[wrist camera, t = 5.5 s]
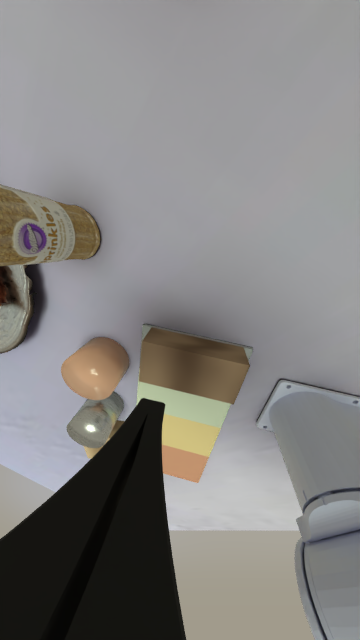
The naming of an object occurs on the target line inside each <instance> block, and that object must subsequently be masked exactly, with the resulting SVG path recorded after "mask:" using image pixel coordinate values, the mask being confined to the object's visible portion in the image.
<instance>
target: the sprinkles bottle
mask: <svg viewBox="0 0 360 640" xmlns="http://www.w3.org/2000/svg"><path fill="white" fill-rule="evenodd" d="M99 245H100V233H99V229H98V227H97V225H96V222H95V220H94V219H93V218H92V217H91V215H90V214H89V213H87V212H86V211H85V210H84V209H82V208H80V207H78V206H75V205H66V204H62V203H59V202H56V201H53V200H51V199H48V198H45V197H42V196H38V195H35V194H32V193H28V192H25V191H21V190H18V189H15V188H11V187H8V186H4V185H1V184H0V266H6V265H17V264H18V265H29V264H38V263H49V262H58V261H62V260H68V259H87V258H90V257H91V256H93V255H94V254H95V253H96V251H97V249H98V247H99Z"/></svg>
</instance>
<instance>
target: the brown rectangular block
mask: <svg viewBox="0 0 360 640" xmlns="http://www.w3.org/2000/svg"><path fill="white" fill-rule="evenodd" d="M249 367H250V364H249V361H248V358H247V356H246V353H245V350H244V347H239V346H235V345H230V344H226V343H221V342H217V341H212V340H208V339H203V338H198V337H194V336H189V335H185V334H180V333H176V332H171V331H167V330H162V329H157V328H153V327H151V329H150V330H149V332H148V333H147V335H146V336H145V338H144V339H143V341H142V347H141V360H140V372H139V382H144V383H148V384H152V385H156V386H160V387H164V388H168V389H172V390H176V391H181V392H185V393H189V394H193V395H197V396H201V397H205V398H209V399H213V400H217V401H222V402H226V403H230V404H234V402H235V400H236V398H237V395H238V393H239V390H240V388H241V386H242V383H243V381H244V379H245V376H246V374H247V372H248V369H249Z"/></svg>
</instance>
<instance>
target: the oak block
mask: <svg viewBox="0 0 360 640" xmlns="http://www.w3.org/2000/svg"><path fill="white" fill-rule="evenodd" d="M124 422H125V421H118V420H117V421H116V423H115V425H114V427H113V429H112V431H111V433H110V435H109V437H108V439H107V441H108V440H109V439H110V438H111V437H112V436H113V435H114V434H115V432H116V431H117V430H118V429H119V428H120V426H121V425H122V424H123V423H124ZM107 441H106V442H105V444H106V443H107ZM105 444H104V445H105ZM104 445H103V446H104ZM103 446H102V447H103ZM102 447H100V448H89V447H85V446H84V448H85V451H86V454H87V456H88V458H91V459H92V458H93V457H94V455H95V454H96V453H97V452H98V451H99V450H100V449H101V448H102Z"/></svg>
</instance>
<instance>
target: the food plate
mask: <svg viewBox="0 0 360 640" xmlns="http://www.w3.org/2000/svg"><path fill="white" fill-rule="evenodd" d="M26 267H27V265H18V264H17V265H6V266H0V353H1V354H2V353H5V352H8V351H10V350H12V349H14V348H16V347H18V345H19V344H21V343H22V342H23V341H24V339H25V337H26V334H27V329H28V325H29V322H30V319H31V317H32V316H33V314H34V313H35V312H34V309H33V305H34V301H33V300H34V299H33V297H32V296H33V295H34V294H37V293H35V292H34V293H32V294H31V295H30V294H29V291H30V290H32V286H33V285H32V284H33V283H32V281H31V280H30V279H29V278H28V277H27V276H26V274H25V270H24V268H26Z"/></svg>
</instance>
